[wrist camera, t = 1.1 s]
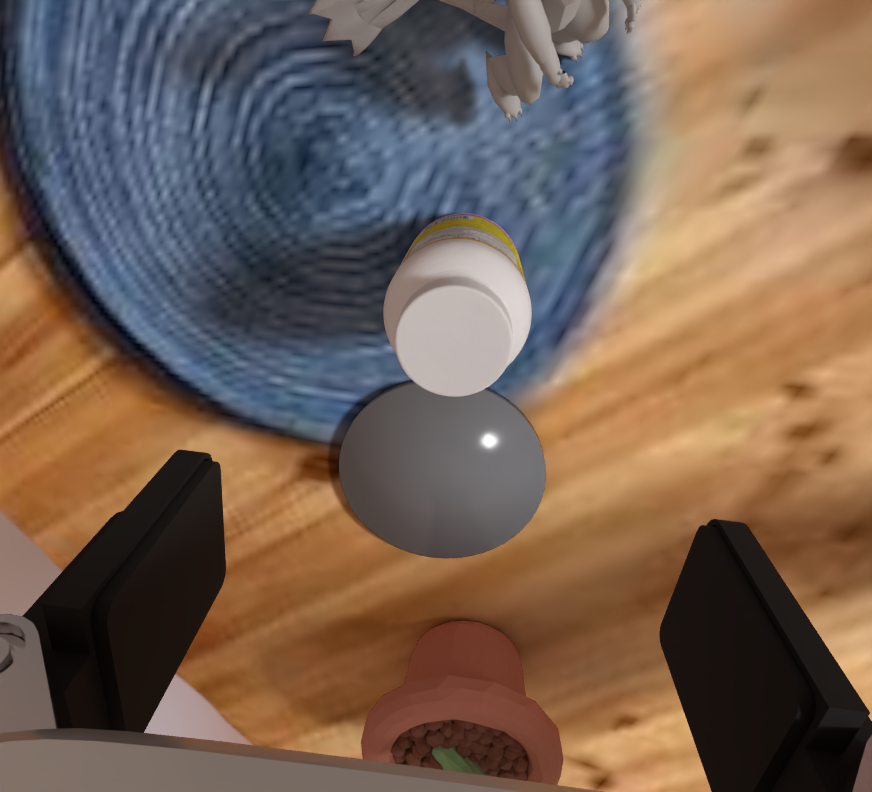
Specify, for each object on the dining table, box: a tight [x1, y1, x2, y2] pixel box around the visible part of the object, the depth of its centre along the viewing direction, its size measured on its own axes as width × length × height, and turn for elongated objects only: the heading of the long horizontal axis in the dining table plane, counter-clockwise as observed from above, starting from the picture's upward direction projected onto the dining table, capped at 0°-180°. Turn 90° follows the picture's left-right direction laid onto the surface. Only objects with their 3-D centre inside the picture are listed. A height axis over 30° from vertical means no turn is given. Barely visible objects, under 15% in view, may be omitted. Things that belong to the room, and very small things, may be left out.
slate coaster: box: [339, 380, 546, 558], centre depth 40 cm, size 14×14×1 cm
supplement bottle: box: [383, 213, 531, 397], centre depth 29 cm, size 7×7×13 cm
